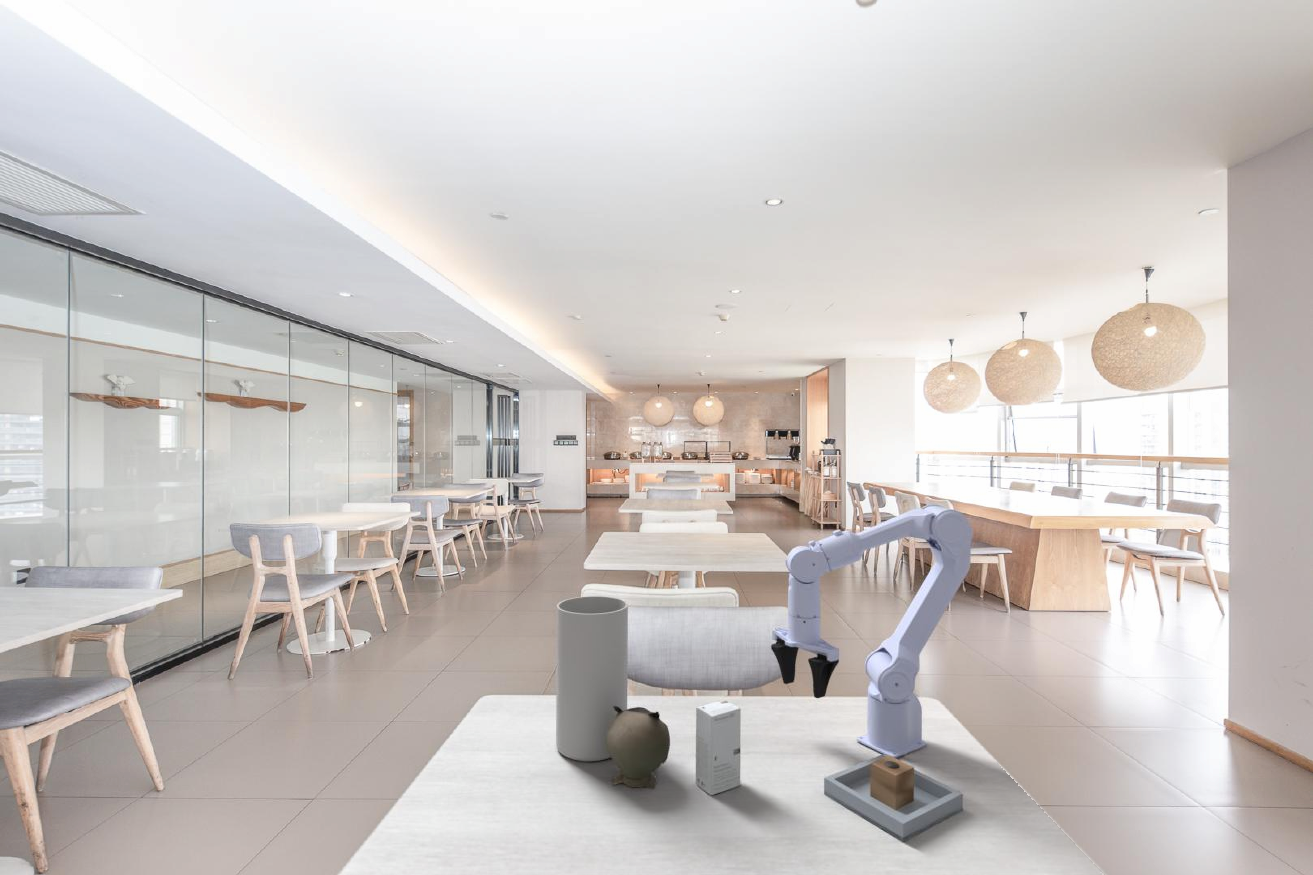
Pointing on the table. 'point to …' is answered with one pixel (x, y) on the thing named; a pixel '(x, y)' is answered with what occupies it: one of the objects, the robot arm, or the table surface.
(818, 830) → the table surface
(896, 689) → the robot arm
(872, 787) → the walnut block
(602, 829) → the table surface
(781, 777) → the table surface
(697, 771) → the skincare box
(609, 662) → the cylinder vase
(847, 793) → the slate tray
